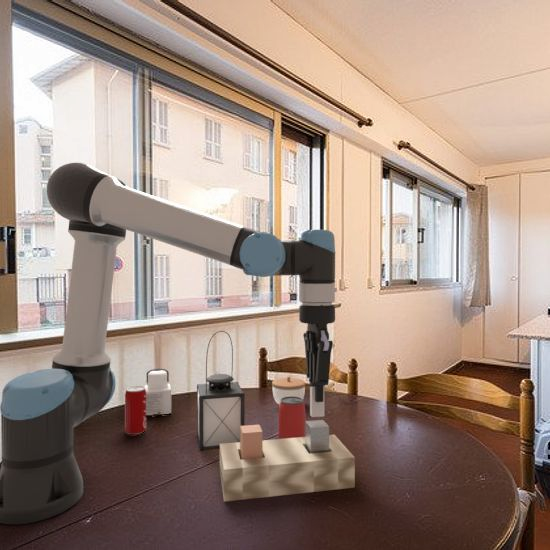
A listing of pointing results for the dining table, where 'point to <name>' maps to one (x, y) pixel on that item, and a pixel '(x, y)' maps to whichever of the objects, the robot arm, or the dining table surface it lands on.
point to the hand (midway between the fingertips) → (317, 415)
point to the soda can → (135, 410)
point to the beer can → (291, 417)
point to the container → (158, 392)
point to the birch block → (285, 469)
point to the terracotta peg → (251, 442)
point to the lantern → (219, 410)
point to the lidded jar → (288, 388)
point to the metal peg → (316, 436)
